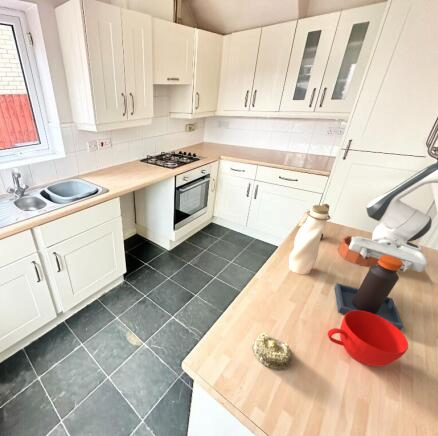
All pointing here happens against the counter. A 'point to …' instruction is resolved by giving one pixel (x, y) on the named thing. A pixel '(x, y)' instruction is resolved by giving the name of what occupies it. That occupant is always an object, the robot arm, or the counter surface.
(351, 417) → the counter surface
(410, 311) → the counter surface
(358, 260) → the bowl
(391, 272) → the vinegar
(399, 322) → the tray
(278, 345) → the seeded bagel
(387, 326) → the ceramic cup
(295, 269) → the water bottle
